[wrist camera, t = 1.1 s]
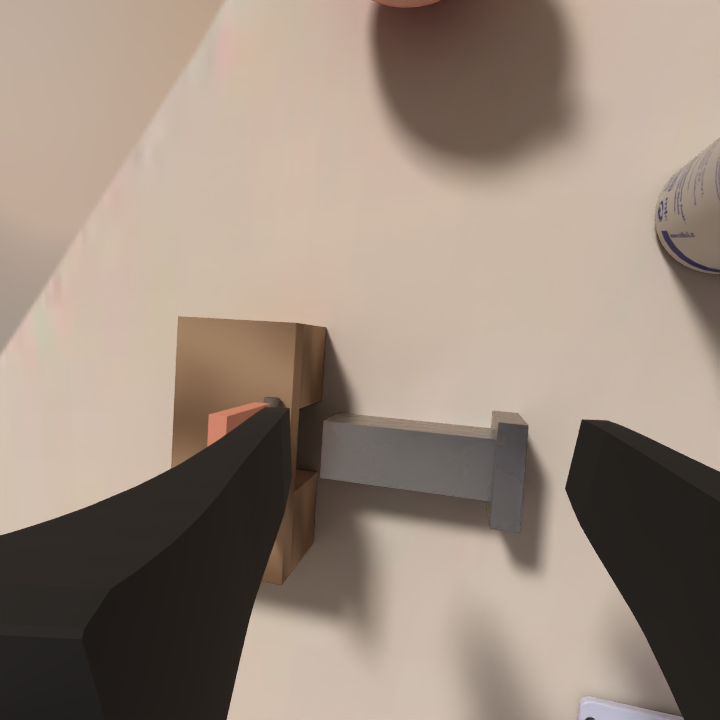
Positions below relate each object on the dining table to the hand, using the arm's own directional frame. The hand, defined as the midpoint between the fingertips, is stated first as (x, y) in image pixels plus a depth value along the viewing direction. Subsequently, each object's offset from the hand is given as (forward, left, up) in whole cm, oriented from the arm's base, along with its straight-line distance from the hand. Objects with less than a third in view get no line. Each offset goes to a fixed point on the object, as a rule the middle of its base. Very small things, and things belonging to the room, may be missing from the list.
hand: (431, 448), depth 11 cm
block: (-3, +10, -12) cm, 16 cm away
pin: (-3, +2, -12) cm, 12 cm away
